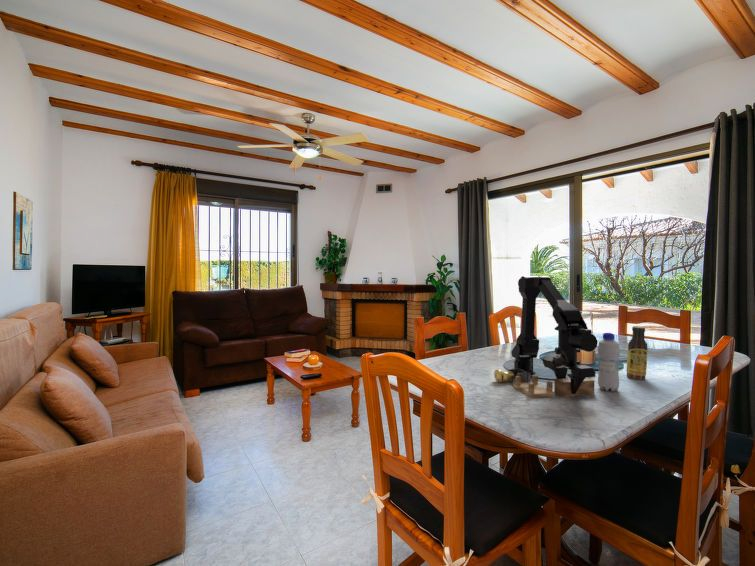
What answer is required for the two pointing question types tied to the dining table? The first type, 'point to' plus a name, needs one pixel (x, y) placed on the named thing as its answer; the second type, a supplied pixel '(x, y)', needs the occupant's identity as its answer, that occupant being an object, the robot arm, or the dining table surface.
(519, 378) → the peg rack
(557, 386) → the walnut bar
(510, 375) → the brass bolt
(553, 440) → the dining table surface
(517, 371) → the keeper
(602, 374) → the bottle
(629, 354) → the sauce bottle
